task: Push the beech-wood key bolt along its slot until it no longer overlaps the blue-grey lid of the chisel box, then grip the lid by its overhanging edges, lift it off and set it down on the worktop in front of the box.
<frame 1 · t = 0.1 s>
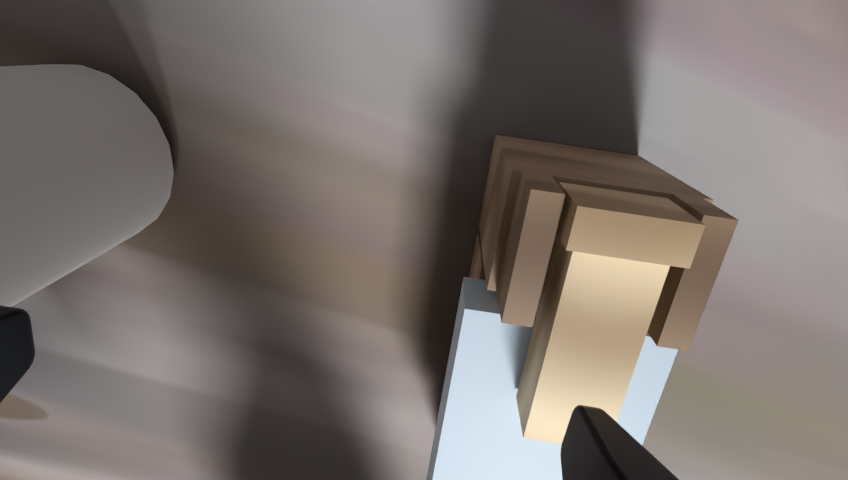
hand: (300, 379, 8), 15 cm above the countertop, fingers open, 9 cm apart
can: (103, 151, 22), on the countertop
lid: (527, 408, 21), point 4 cm above the countertop, touching chisel box
chisel box: (516, 353, 25), on the countertop
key: (589, 324, 15), point 8 cm above the countertop, slide at 0.0 cm
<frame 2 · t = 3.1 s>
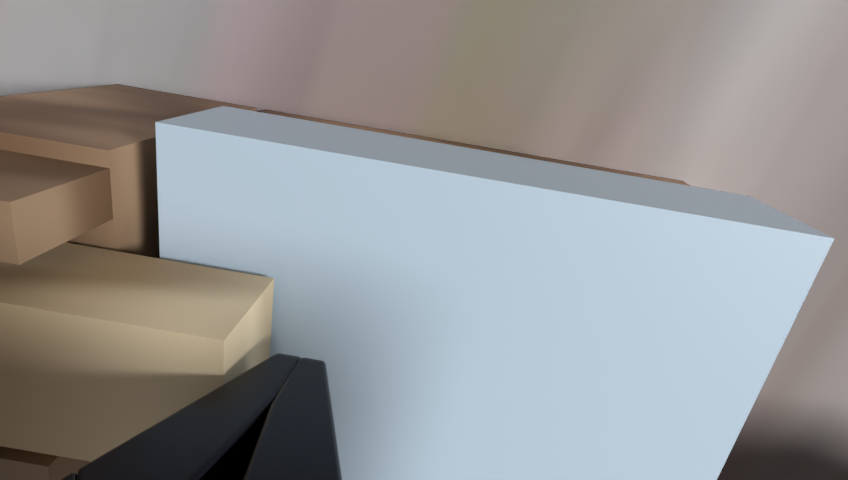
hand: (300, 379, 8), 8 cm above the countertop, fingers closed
lid: (454, 303, 12), point 4 cm above the countertop, touching chisel box
chisel box: (455, 242, 15), on the countertop
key: (6, 341, 8), point 8 cm above the countertop, slide at 0.9 cm, touching gripper
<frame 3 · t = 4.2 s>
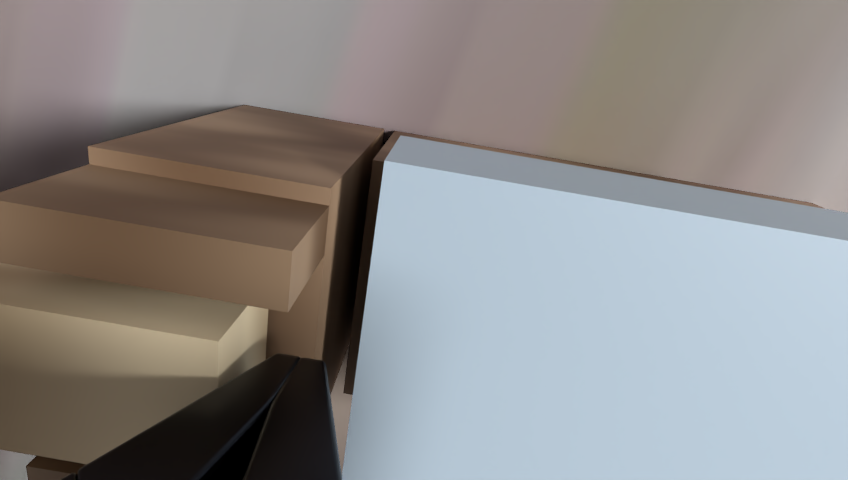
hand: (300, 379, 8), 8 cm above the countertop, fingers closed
lid: (613, 331, 12), point 4 cm above the countertop, touching chisel box
chisel box: (575, 262, 15), on the countertop
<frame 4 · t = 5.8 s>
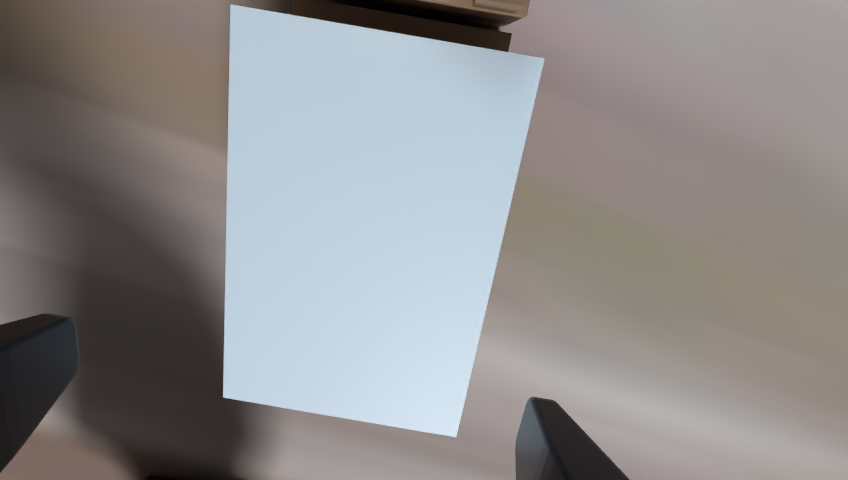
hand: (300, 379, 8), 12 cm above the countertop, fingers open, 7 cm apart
lid: (374, 222, 16), point 4 cm above the countertop, touching chisel box
chisel box: (389, 189, 19), on the countertop
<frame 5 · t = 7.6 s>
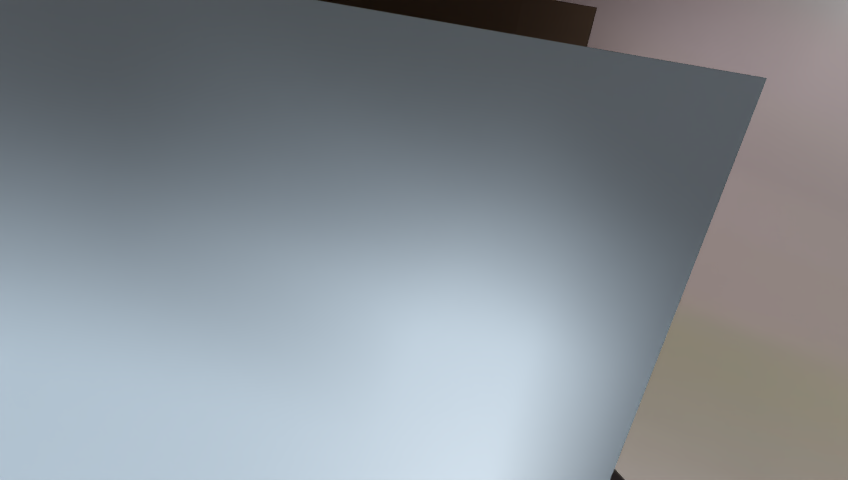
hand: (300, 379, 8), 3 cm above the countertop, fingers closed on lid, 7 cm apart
lid: (287, 406, 8), point 4 cm above the countertop, touching chisel box, gripper
chisel box: (343, 288, 11), on the countertop
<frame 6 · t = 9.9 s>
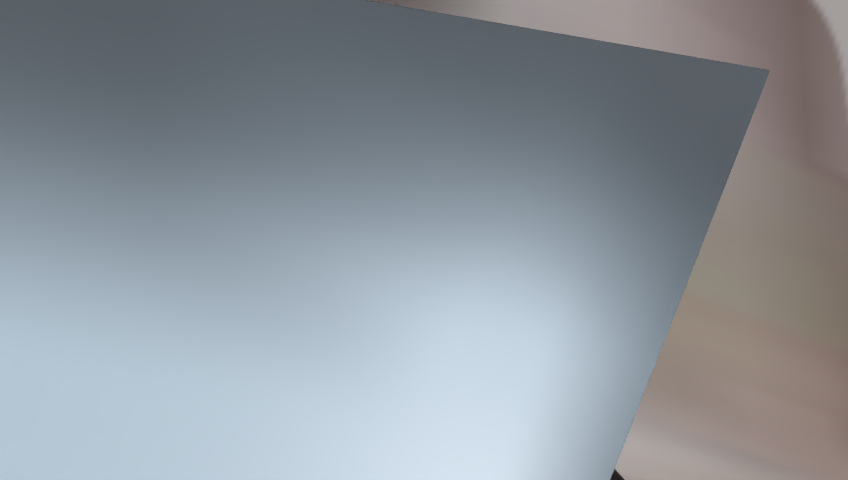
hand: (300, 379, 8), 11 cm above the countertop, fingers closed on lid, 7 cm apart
lid: (287, 404, 8), point 11 cm above the countertop, touching gripper
when the fingers open (1 cm above the countertop, at t = 12.5 s): lid drops 3 cm, on the countertop.
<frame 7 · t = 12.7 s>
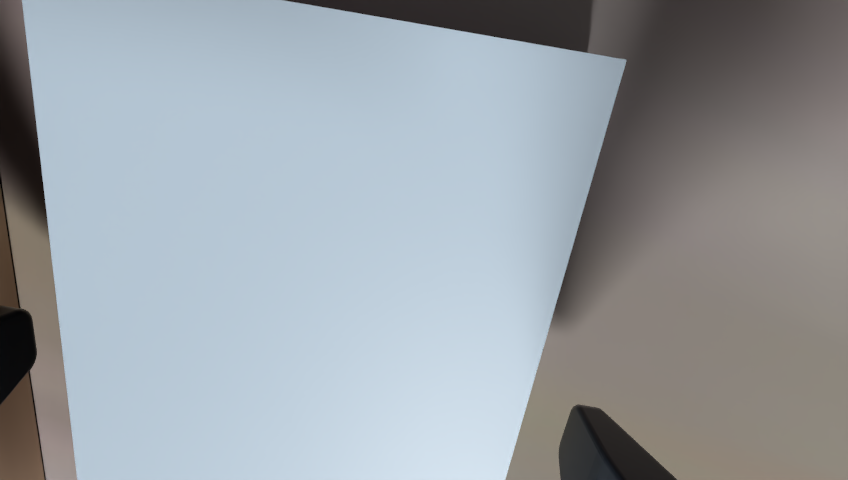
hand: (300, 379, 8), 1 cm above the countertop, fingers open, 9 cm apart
lid: (329, 312, 10), on the countertop
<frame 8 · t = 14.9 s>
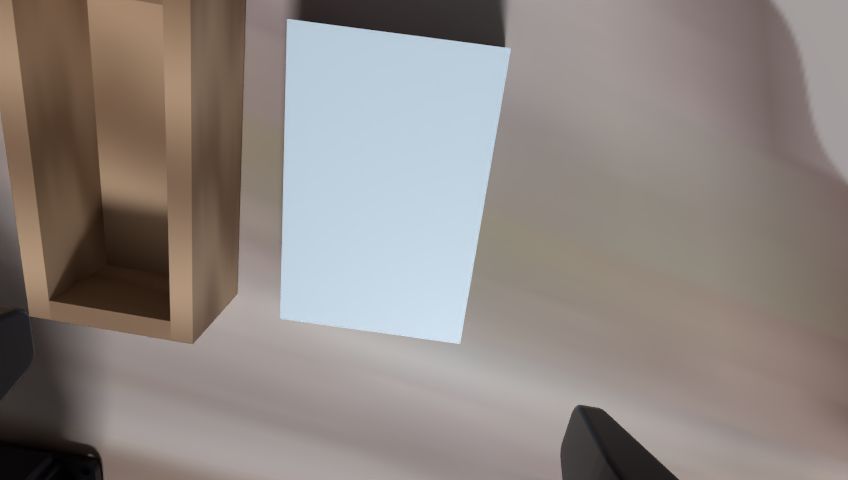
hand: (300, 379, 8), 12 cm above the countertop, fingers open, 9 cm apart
lid: (391, 181, 20), on the countertop
chisel box: (166, 147, 20), on the countertop
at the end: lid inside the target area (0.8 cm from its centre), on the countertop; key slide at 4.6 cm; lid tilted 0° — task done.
